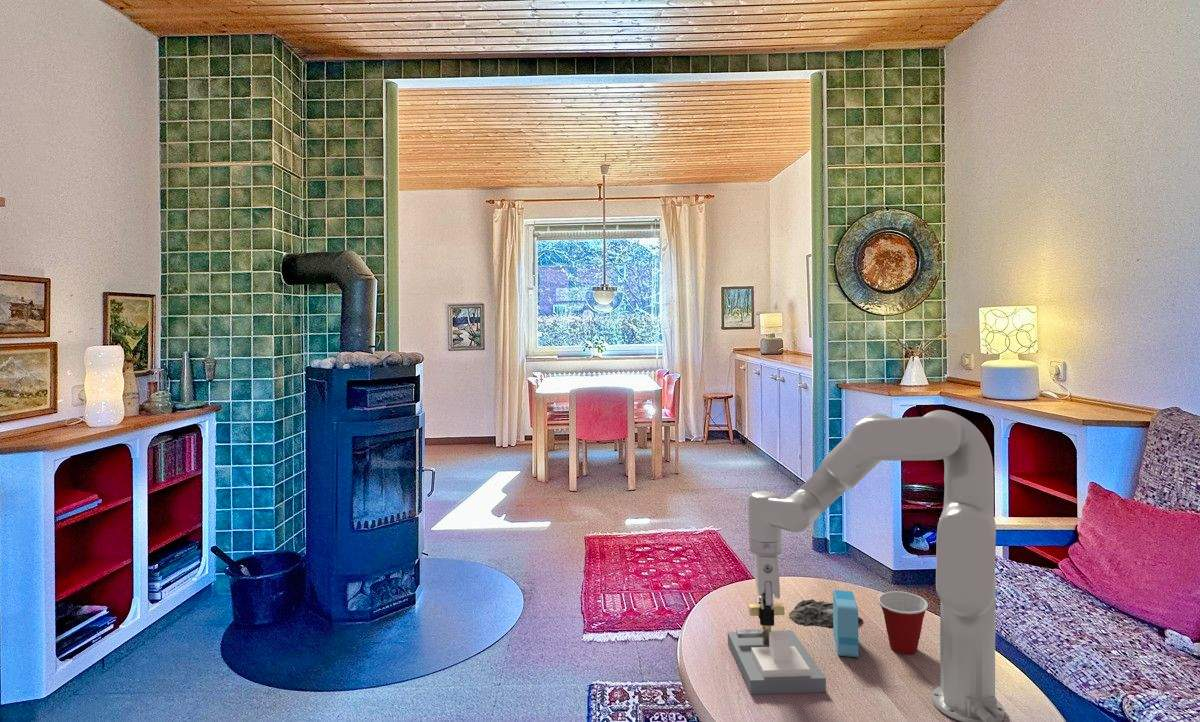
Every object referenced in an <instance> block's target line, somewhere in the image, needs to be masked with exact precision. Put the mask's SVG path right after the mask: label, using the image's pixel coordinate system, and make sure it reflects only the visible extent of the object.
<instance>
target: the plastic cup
mask: <svg viewBox="0 0 1200 722" xmlns="http://www.w3.org/2000/svg"><path fill="white" fill-rule="evenodd" d="M877 600H878V604H879V605H880V606H881V610H882V612H883V616H884V617H883V618H884V623H885V627H886V633H887V636H888V637H887V638H888V642H889V643H888V644H889V647H890V649H891V650H892V651H893V652H895V653H898V654H901V655H907V656H908V655H909V656H910V655H913V654H916V653H917V651H918V648H919V642H920V638H921V632H922V629H923V628H922V627H923V622H924V618H925V614H926V611H927V609H928V606H929V604H928V601H927V600H925V598H923V597H922V596H919V595H918V594H916V593H911V592H906V591H899V590H897V591H896V590H893V591H886V592H884V593H881V594H880V595H879V596H878V597H877Z"/></svg>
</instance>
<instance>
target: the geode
mask: <svg viewBox="0 0 1200 722" xmlns="http://www.w3.org/2000/svg"><path fill="white" fill-rule="evenodd" d="M788 618H790V619H792V620H791V621H793V622H794V624H796V625H798V626H802V625H803V626H802V627H809V626H815V627H819V626H820V627H822V628H833V602H826V601H824V600H819V601H816V600H814V599H813V598H811V599H807V600H806V599H805V600H802V601H799V602H798V603H797V604H796V605H795V606H794V608H793V609H792V610H791V611H790V612H789V613H788ZM790 619H789V620H790ZM862 620H863V619H862V618H861V617H860V616H858V622H859V623H861V622H862ZM860 621H861V622H860Z"/></svg>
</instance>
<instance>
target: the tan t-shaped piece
mask: <svg viewBox="0 0 1200 722" xmlns="http://www.w3.org/2000/svg"><path fill="white" fill-rule="evenodd" d="M747 606H748V607H747V608H748V614H749V615H750V616H751V617H759V616H760V608H761V604H758V603H748V605H747ZM773 608H774V616H785V611H786V610H785V606H784V604H783V603H782V602H779V603H775V602H773ZM761 626H762V627H761V628H758V629H756V628H755V629H736V631H735V632H736V634H737V637H738V638H761V637H762V642H763V643H765V644H769V632H771V631H772V626H763V625H761Z"/></svg>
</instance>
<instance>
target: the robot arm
mask: <svg viewBox="0 0 1200 722" xmlns="http://www.w3.org/2000/svg"><path fill="white" fill-rule="evenodd" d="M938 460H943V463H944V464H943V466H944V474H943V476H944V477H943V481H944V490H943V492H944V493H943V494H944V495H943V508H942V511H941V514H940V516H939V520H938V522H937V529H936V543H935V545H936V550H935V551H936V555H935V556H936V559H935V589H936V594H937V597H938V598H939V600H940V602H939V603H940V606H939V607H940V610H939V611H940V616H939V617H940V620H939V621H940V624H939V630H940V631H939V632H940V633H939V639H940V640H939V641H940V642H939V643H940V644H939V645H940V647H939V649H940V650H939V651H940V652H939V653H940V654H939V655H940V661H939V662H940V666H939V667H940V668H939V669H940V671H939V672H940V675H939V676H940V678H939V679H940V686H937V687H936V688H934V690H932V693H931V700H932V701H931V702H932V703H933V705H934V706H935V708H937V710H939V711H940V712H941V713H943V714H944V715H946V716H948V717H950V718H951V719H954V720H956V721H959V722H1003V721H1004V719H1005V714H1006V713H1005V708H1004V706H1003V705H1002V703H1001V702H1000V701H998V699H997V698H996V598H997V597H996V594H997V593H996V591H997V580H996V579H997V577H996V544H997V543H996V540H997V539H996V537H997V536H996V535H997V526H996V525H997V524H996V519H995V511H994V510H995V508H994V507H995V505H994V504H995V503H994V502H995V501H994V500H995V486H994V462H993V456H992V452H991V449H990V445H989V444H988V442H987V440H986V438H985V436H984V435H983V433H982V432H981V431H980V430H979V429H978V428H977V427H976V425H975V424H973V422H971V421H970V420H968V419H967V418H965V417H964V416H961V415H960V414H957V413H956V412H952V411H950V410H945V409H944V410H943V409H936V410H933V411H929V412H927V413H926V414H924V415H923V416H915V417H914V416H912V417H911V416H910V417H896V418H895V417H894V418H891V417H890V416H888V415H886V414H883V413H882V414H881V413H872V414H869V415H866V416H865V417H863V418H862V419H860V420H859V421H857V422H856V423H855V424H854V425H853V428H852V429H851V431H850V432H849V433H847V435H846V436H844V437H843V439H842V440H841V441H840V442H839V443H838V444H836V445H835V447H834V448H833V449H832V450H831V451H829V452H828V454H826V455H825V457H824V458H823V459H822V462H821V464H820V466H819V467H818V469H817V470H816V471H815V472H814V473H813V475H811V476H810V477H809V478H808V479H807V481H805V482H804V483H803V485H801V486H800V487H799V488H798V489H797V490H796V491H795V492H794V493H792V494H791V495H789V497H785V498H781V496H780V495H779V494H778V493H776V492H772V491H768V490H767V491H765V490H762V491H761V490H759V491H753V492H752V493H751V494H750V495H749V497H748V551H749V553H751V554H753V555H754V557H753V559H754V564H753V565H754V567H753V568H754V580H755V586H756V589H757V590H756V592H757V594H758V602H757V604H761V608H760V616H758V619H759V625H760V626H762V625H763V626H771V627H773V626H775V615H774V608H773V603H774V599H777V600H779V599H780V598H781V588H780V587H781V585H780V584H781V583H780V567H779V556H780V555H782V554H783V546H782V545H783V535H782V534H783V530H784V531H787V532H791V533H800V532H804V531H805V530H806V529H808V528H809V527H810V526H811V525H812V524H813V523H814V522H815V521H816V520H817V519H818V518H819V517H820V516H821V515H822V514H823V513H825V511H826V510H827V509H828V508H829V507H830V506H831V505H832V504H833V503H834V502H835V501H836V500H838V498H840V497H841V496H842V495H844V494H845V493H846V491H849V490H851V489H853V488H854V487H855V486H856V485H857V484H859V483H860V481H862V479H864V478H865V477H866V476H867V475H868V474H869V473H870V472H871V471H872V470H873V469H874V468H875V467H876V466H877V465H879V463H881V462H882V461H888V462H889V461H891V462H892V461H894V462H896V461H899V462H900V461H901V462H902V461H938Z"/></svg>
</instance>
